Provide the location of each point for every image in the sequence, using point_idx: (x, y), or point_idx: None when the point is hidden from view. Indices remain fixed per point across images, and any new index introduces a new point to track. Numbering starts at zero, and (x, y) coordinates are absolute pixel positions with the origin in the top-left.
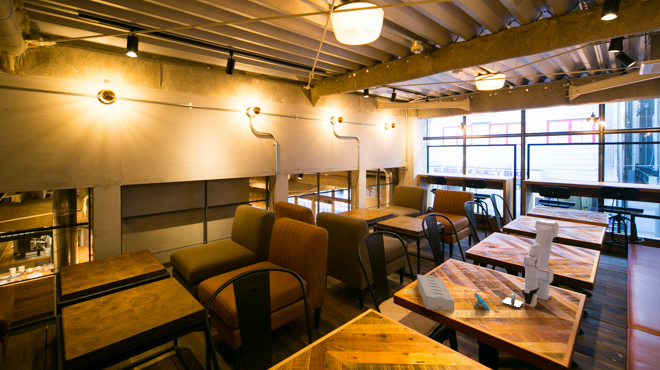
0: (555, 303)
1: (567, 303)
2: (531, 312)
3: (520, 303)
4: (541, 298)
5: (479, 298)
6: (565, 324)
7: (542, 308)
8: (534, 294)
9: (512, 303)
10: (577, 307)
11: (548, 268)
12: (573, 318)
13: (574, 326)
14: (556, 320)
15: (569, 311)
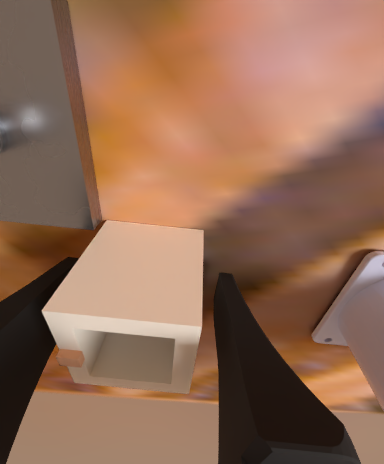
0: (286, 360)
1: (321, 389)
2: (7, 281)
3: (35, 213)
4: (325, 317)
5: None
6: (49, 379)
7: None
8: (172, 378)
9: None
10: None
11: None
12: (143, 395)
13: (66, 393)
14: (51, 362)
15: (212, 390)
